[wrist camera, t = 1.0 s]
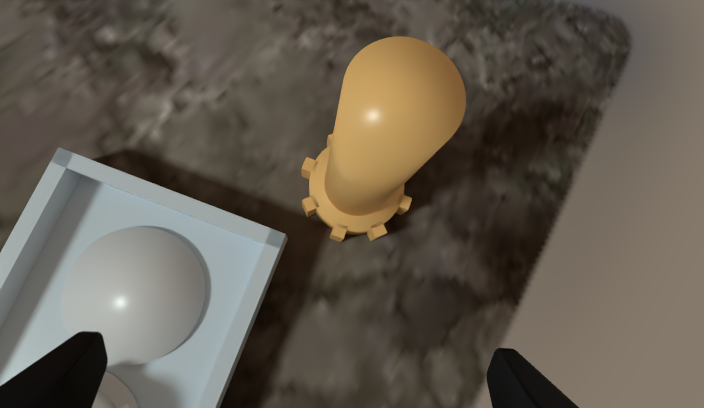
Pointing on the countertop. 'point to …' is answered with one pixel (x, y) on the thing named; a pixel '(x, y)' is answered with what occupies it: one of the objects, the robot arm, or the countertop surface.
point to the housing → (133, 284)
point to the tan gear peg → (383, 134)
